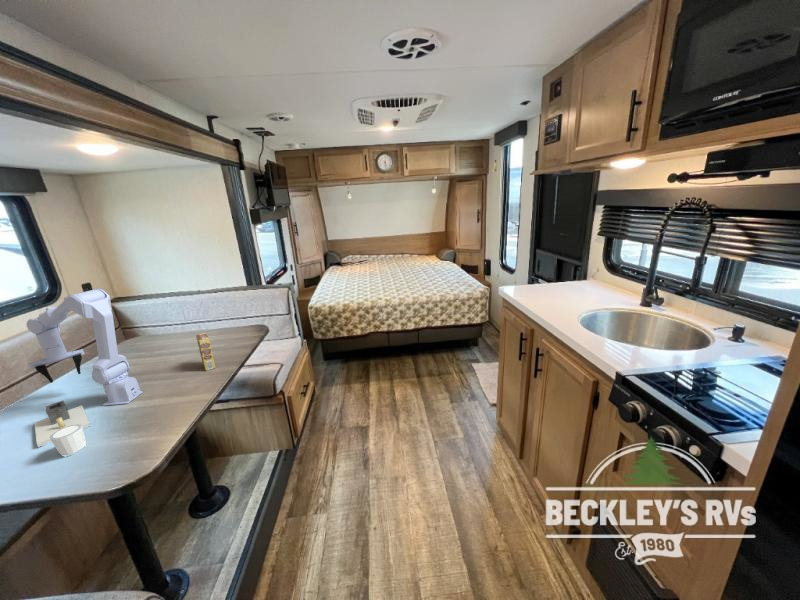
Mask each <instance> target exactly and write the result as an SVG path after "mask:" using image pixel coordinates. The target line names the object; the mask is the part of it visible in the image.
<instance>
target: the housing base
mask: <svg viewBox="0 0 800 600" xmlns="http://www.w3.org/2000/svg"><path fill="white" fill-rule="evenodd" d="M67 410H68V412H69V416H70V418H69V419H67V420H64V421H63V419H62V417H59V418H57V419H56V421H57V423H56V424H54V425H52V424H51V422H50V419H49V417H48V416H47V417H46V418H44V419H43V418H42V419H41V420H38V421H36V422H34V429H35V430H34V431H35V438H36V439H35V440H36V445H37V448H38V447H39V446H41V445H43V444H46V443H48V442H51V439H50V436H51V435H52V434H53V433H55V432H57V431H58V430H60V429H62V428H65V427H67V426H71V425H75V424H81V425H82V428H86V427H88V426H90V427H91V425H90V421H89V418H88V417H87V414H86V411H85V410H84V405H79V406H76V407H73V408H71V409H67ZM86 429H87V428H86Z"/></svg>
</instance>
